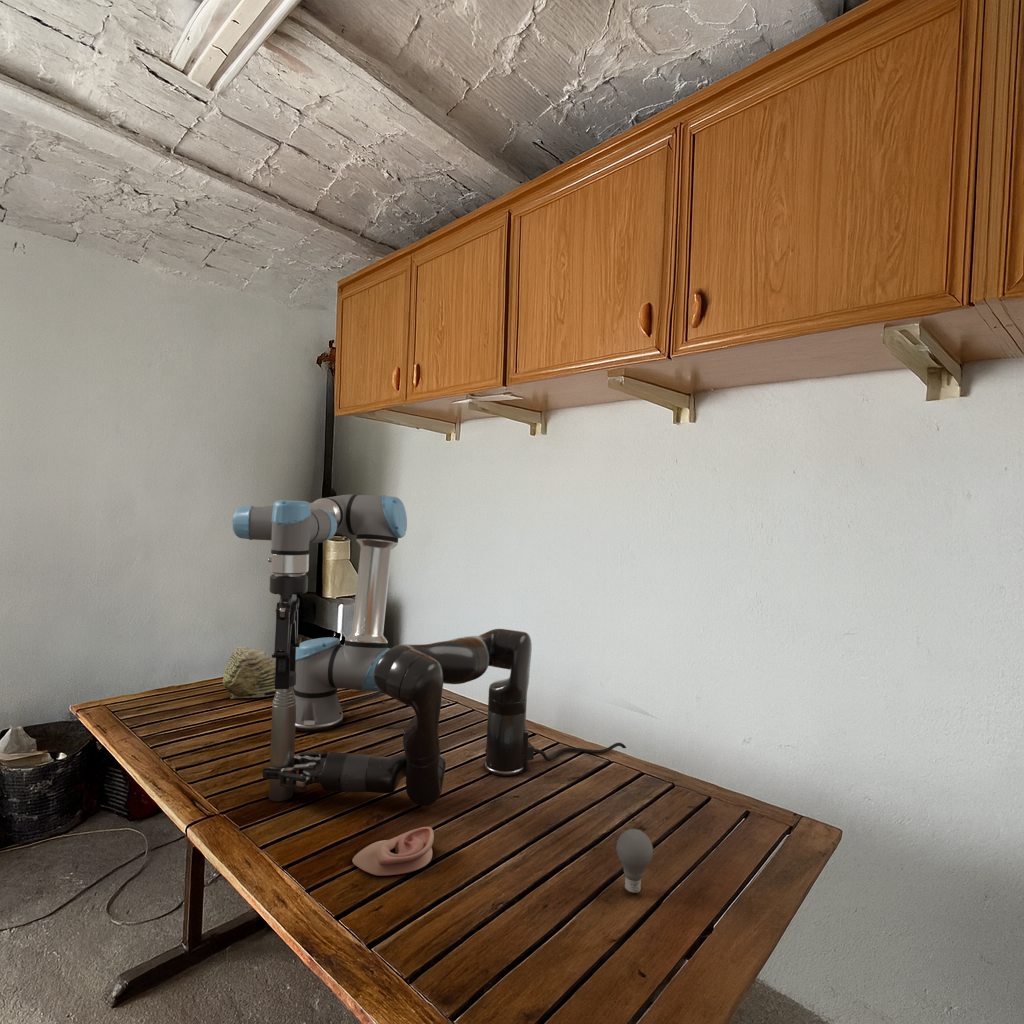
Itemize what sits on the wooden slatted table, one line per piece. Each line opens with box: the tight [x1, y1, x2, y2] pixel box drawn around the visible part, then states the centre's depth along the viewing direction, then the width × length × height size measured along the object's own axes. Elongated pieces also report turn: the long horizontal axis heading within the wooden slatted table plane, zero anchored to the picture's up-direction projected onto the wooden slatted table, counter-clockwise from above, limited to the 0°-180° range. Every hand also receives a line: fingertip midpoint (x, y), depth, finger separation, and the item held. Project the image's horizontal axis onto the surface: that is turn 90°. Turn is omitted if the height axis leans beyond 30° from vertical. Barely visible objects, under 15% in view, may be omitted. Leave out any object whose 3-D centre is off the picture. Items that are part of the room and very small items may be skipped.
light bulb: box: [615, 828, 654, 894], centre depth 106 cm, size 6×6×10 cm
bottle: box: [268, 686, 296, 802], centre depth 133 cm, size 5×5×25 cm
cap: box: [274, 671, 296, 687], centre depth 133 cm, size 4×4×2 cm
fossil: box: [222, 646, 277, 699], centre depth 198 cm, size 9×18×15 cm, turn 132°
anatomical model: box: [351, 826, 435, 877], centre depth 112 cm, size 13×4×12 cm
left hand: (285, 683), depth 133 cm, fingers open, 7 cm apart
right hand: (269, 767), depth 133 cm, fingers closed on bottle, 5 cm apart
